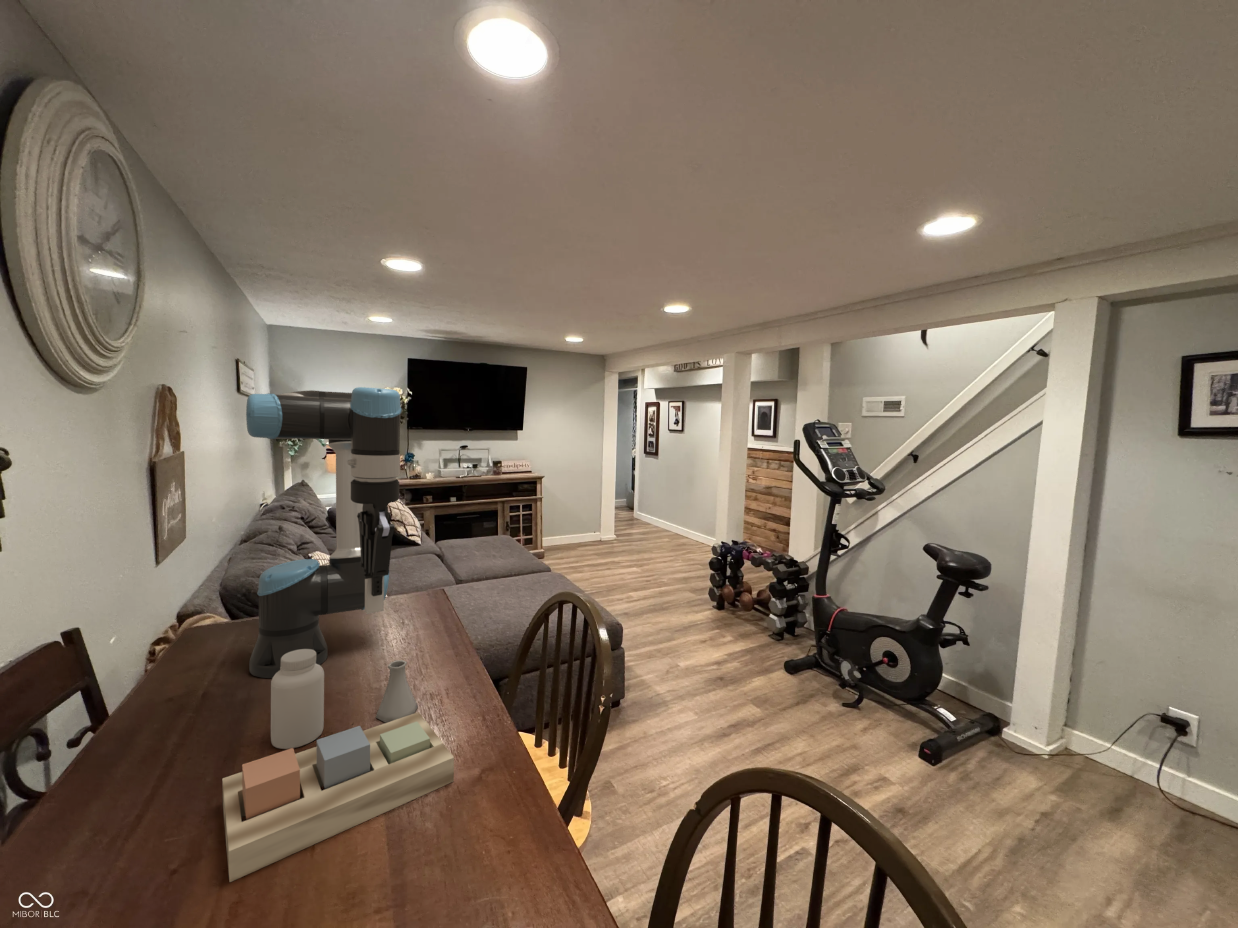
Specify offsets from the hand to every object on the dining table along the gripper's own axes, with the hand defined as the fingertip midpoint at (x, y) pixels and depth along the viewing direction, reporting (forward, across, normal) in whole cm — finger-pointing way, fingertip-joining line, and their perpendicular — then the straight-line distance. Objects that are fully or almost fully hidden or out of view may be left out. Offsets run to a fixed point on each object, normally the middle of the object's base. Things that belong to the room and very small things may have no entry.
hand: (374, 611), depth 86 cm
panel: (+23, +12, -7) cm, 27 cm away
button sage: (+22, +12, +2) cm, 25 cm away
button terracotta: (+19, +12, -16) cm, 28 cm away
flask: (+24, -5, +6) cm, 25 cm away
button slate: (+19, +12, -7) cm, 24 cm away
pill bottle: (+24, -8, -10) cm, 27 cm away
